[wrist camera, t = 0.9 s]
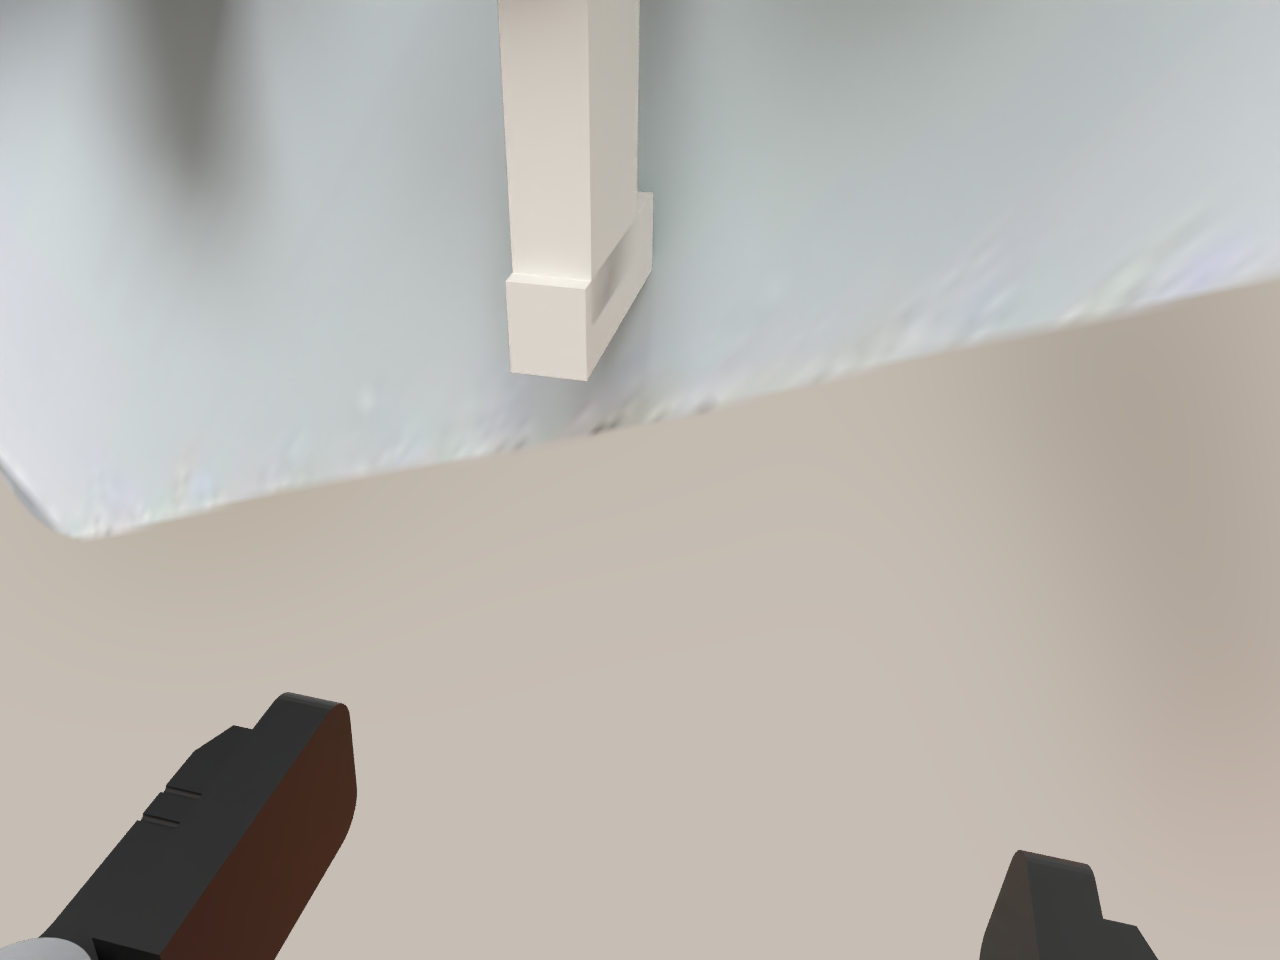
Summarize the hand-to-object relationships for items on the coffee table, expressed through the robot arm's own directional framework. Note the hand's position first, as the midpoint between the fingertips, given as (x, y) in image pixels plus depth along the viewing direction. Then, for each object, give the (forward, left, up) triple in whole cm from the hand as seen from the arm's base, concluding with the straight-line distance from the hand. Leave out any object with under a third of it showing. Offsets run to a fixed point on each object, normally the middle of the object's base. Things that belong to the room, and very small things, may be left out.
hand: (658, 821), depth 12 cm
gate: (-6, -3, -19) cm, 20 cm away
